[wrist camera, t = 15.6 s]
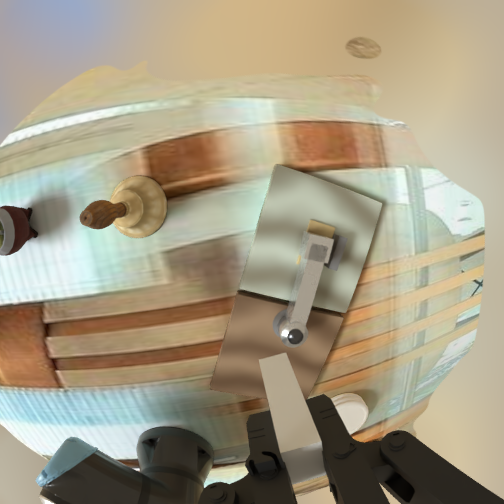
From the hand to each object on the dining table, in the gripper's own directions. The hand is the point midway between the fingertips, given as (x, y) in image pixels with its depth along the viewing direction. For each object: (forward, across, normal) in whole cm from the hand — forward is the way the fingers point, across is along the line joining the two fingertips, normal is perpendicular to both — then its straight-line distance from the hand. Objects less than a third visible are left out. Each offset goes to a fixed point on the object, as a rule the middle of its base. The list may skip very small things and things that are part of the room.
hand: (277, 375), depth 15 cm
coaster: (+25, +10, -32) cm, 42 cm away
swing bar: (+22, +6, -4) cm, 23 cm away
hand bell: (+25, -12, +12) cm, 30 cm away
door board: (+24, +5, -7) cm, 26 cm away
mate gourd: (+25, -32, +15) cm, 43 cm away
